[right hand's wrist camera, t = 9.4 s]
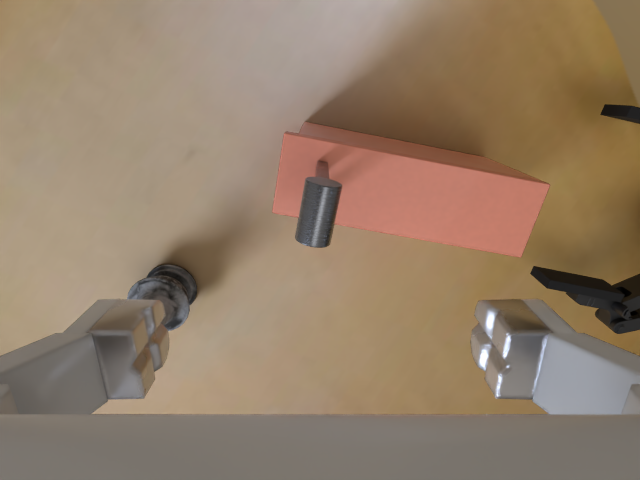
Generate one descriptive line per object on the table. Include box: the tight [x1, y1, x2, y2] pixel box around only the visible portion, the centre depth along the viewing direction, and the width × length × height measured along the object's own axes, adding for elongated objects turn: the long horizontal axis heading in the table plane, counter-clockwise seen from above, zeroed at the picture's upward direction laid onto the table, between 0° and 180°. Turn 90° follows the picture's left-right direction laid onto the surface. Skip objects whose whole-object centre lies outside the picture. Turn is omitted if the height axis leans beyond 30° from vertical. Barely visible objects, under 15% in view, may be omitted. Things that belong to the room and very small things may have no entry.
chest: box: [299, 122, 541, 181], centre depth 32 cm, size 17×5×10 cm, turn 79°
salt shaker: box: [127, 265, 197, 331], centre depth 35 cm, size 6×6×12 cm
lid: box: [272, 131, 550, 257], centre depth 23 cm, size 18×5×9 cm, turn 79°
